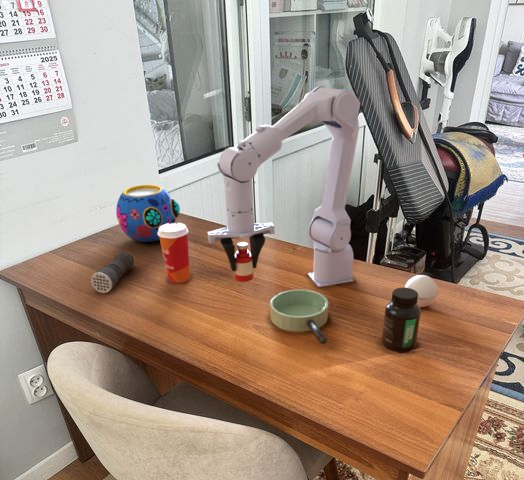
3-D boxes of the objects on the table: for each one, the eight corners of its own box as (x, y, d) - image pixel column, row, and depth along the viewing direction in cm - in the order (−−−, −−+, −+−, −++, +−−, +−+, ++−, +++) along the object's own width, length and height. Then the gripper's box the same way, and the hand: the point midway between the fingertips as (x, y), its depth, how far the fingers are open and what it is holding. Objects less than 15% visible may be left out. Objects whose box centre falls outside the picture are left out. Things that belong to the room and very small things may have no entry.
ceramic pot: (152, 254, 150) (144, 203, 141) (109, 243, 158) (99, 194, 149) (191, 234, 161) (185, 186, 153) (149, 225, 170) (142, 178, 161)
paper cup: (165, 273, 139) (158, 222, 131) (194, 271, 139) (188, 220, 131) (163, 286, 132) (155, 234, 124) (193, 284, 133) (187, 232, 125)
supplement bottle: (414, 356, 103) (423, 303, 96) (379, 351, 104) (385, 299, 98) (416, 338, 108) (424, 286, 102) (382, 334, 110) (388, 283, 103)
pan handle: (305, 325, 110) (305, 319, 110) (312, 324, 111) (312, 317, 110) (320, 346, 104) (320, 339, 103) (328, 345, 104) (328, 338, 103)
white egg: (395, 305, 120) (399, 276, 116) (414, 294, 124) (418, 266, 120) (433, 321, 114) (438, 291, 110) (451, 309, 118) (457, 280, 114)
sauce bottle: (250, 272, 120) (248, 239, 115) (255, 280, 117) (254, 246, 112) (233, 275, 119) (230, 241, 114) (237, 283, 116) (235, 248, 111)
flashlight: (119, 266, 143) (115, 248, 140) (137, 268, 142) (134, 249, 139) (93, 292, 131) (88, 272, 128) (113, 293, 130) (108, 274, 127)
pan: (315, 300, 123) (315, 285, 121) (336, 327, 113) (337, 311, 111) (263, 310, 120) (263, 294, 118) (281, 337, 110) (280, 321, 108)
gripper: (210, 219, 104) (215, 280, 112) (278, 210, 107) (279, 269, 115) (203, 208, 110) (209, 267, 117) (268, 200, 113) (270, 257, 120)
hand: (243, 267), depth 116 cm, fingers closed on sauce bottle, 4 cm apart
